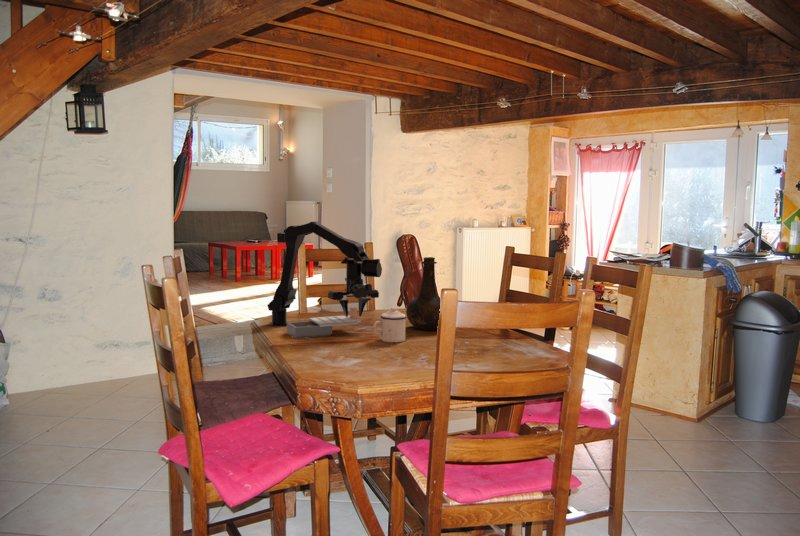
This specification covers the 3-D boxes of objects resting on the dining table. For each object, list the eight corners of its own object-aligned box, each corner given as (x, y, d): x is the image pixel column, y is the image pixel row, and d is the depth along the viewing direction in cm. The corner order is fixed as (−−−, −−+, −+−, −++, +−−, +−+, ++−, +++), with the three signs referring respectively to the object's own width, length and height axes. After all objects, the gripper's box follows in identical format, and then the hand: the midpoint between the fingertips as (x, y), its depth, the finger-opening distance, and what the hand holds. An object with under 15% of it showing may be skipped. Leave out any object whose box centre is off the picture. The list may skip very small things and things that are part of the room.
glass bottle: (452, 333, 241) (454, 259, 238) (405, 332, 242) (407, 259, 239) (450, 324, 259) (451, 255, 256) (406, 323, 259) (407, 255, 257)
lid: (309, 321, 240) (309, 307, 240) (349, 318, 247) (349, 305, 247) (320, 326, 230) (320, 312, 229) (361, 323, 237) (361, 309, 237)
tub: (286, 333, 236) (286, 322, 235) (322, 330, 242) (322, 320, 242) (295, 338, 227) (295, 327, 227) (332, 335, 233) (332, 324, 233)
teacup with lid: (399, 336, 234) (400, 305, 232) (409, 341, 225) (410, 309, 224) (369, 338, 229) (369, 306, 228) (377, 344, 221) (378, 311, 220)
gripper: (338, 279, 229) (338, 322, 231) (385, 277, 237) (384, 318, 239) (327, 275, 239) (327, 316, 240) (373, 274, 247) (372, 313, 249)
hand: (353, 316), depth 242 cm, fingers open, 5 cm apart
